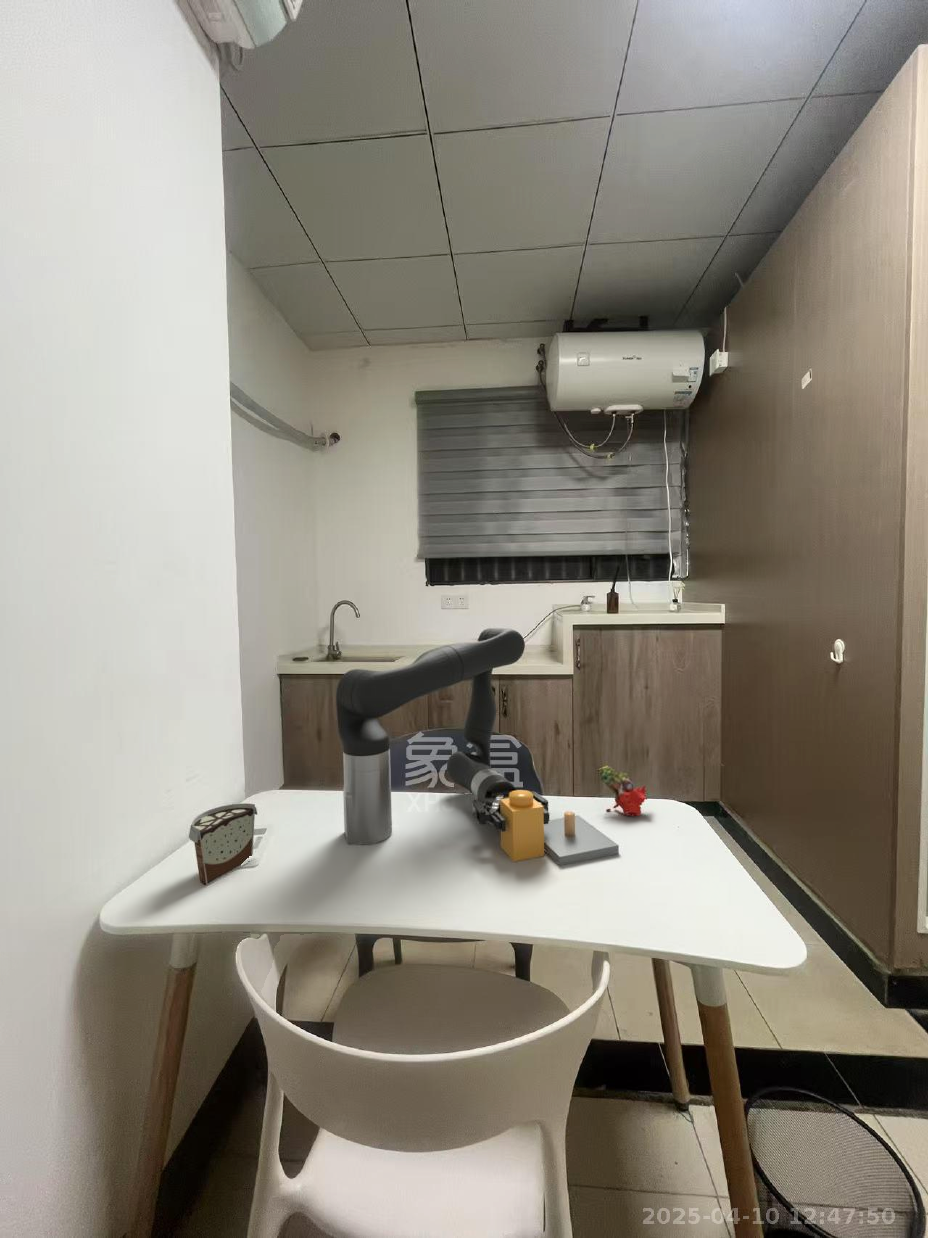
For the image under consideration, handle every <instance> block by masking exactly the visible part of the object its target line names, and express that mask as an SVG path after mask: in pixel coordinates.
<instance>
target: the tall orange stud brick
mask: <svg viewBox="0 0 928 1238" xmlns="http://www.w3.org/2000/svg"><path fill="white" fill-rule="evenodd" d="M532 792H533V791H530V790H526V789H524V790H523V789H516V790H515V791H512V792H510V793H509V798H506V799H500V815H501V816H502V817H503V818H504V819H505V821H506V831H503V832H501V831H500V847H501V848H502V849H503V850H504V852H505V853H506V854H507V855H508V857H509V858H510V859H511V860H512V861H513V862H518V861H525V860H528V859H534V858H538V857H539V858H540V857H544V856H545V850H544V815H543V806H542V805H541V804H539V803H538V802H537V801H536V800H535V799H533V793H532Z"/></svg>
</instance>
